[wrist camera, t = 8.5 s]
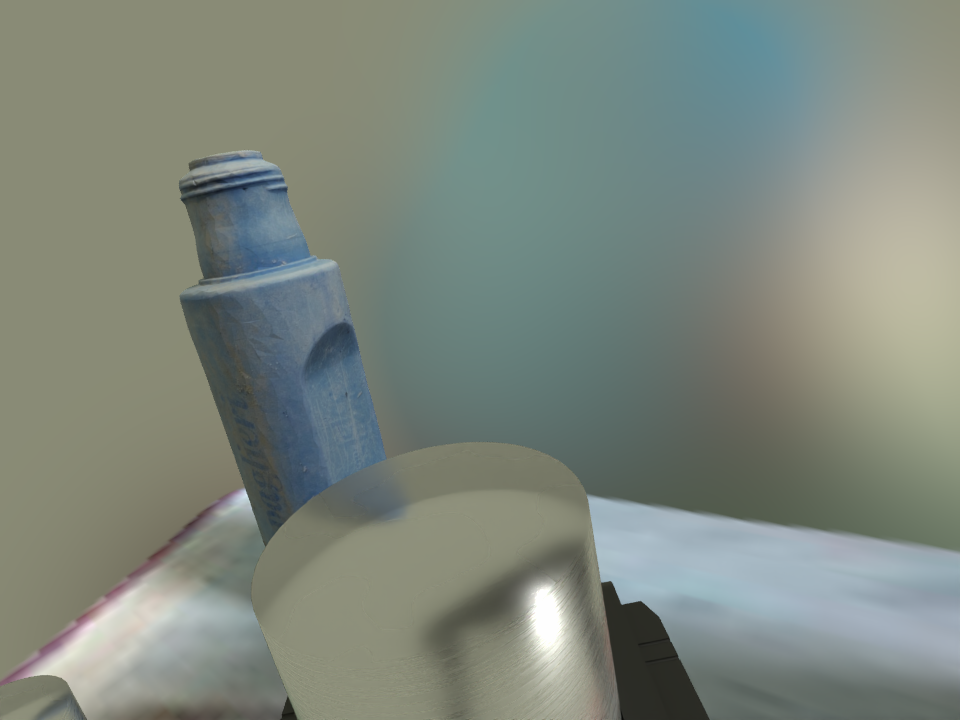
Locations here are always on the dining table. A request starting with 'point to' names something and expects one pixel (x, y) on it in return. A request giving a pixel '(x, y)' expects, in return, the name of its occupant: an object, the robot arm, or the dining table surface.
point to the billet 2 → (441, 593)
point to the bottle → (274, 339)
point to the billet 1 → (39, 700)
